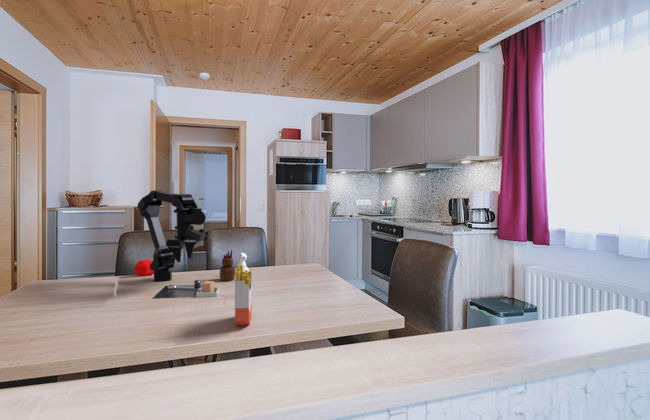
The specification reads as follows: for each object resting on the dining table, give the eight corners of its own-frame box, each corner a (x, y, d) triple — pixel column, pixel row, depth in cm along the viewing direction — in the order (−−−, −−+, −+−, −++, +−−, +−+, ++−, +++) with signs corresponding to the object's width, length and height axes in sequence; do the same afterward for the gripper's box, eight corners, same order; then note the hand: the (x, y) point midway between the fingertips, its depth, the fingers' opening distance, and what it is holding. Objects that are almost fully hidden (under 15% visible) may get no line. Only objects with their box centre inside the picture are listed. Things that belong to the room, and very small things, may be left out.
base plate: (151, 301, 129) (151, 298, 129) (165, 288, 146) (165, 285, 146) (195, 299, 131) (195, 296, 131) (204, 286, 148) (204, 284, 148)
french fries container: (253, 315, 115) (252, 262, 114) (250, 328, 105) (249, 270, 104) (239, 315, 115) (238, 262, 114) (234, 329, 104) (234, 270, 103)
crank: (165, 289, 140) (165, 280, 140) (170, 286, 144) (170, 278, 144) (198, 290, 139) (198, 281, 139) (202, 288, 142) (202, 279, 142)
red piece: (158, 275, 167) (157, 260, 166) (142, 279, 160) (141, 263, 159) (148, 273, 171) (148, 258, 170) (132, 276, 164) (132, 260, 164)
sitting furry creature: (231, 275, 169) (231, 251, 168) (248, 273, 172) (248, 250, 171) (231, 279, 160) (231, 254, 159) (250, 278, 163) (250, 253, 162)
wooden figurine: (237, 280, 159) (237, 248, 158) (232, 284, 153) (232, 250, 152) (223, 280, 160) (222, 248, 159) (218, 283, 154) (217, 250, 153)
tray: (196, 299, 131) (196, 293, 131) (200, 293, 138) (200, 287, 138) (217, 298, 132) (216, 292, 132) (219, 293, 140) (219, 287, 140)
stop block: (202, 295, 134) (201, 283, 134) (206, 293, 137) (206, 280, 137) (210, 296, 133) (210, 283, 133) (214, 293, 137) (214, 281, 137)
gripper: (191, 226, 135) (191, 265, 136) (211, 222, 154) (212, 256, 154) (164, 225, 136) (165, 264, 137) (188, 221, 155) (188, 255, 156)
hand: (184, 260), depth 146 cm, fingers open, 9 cm apart
